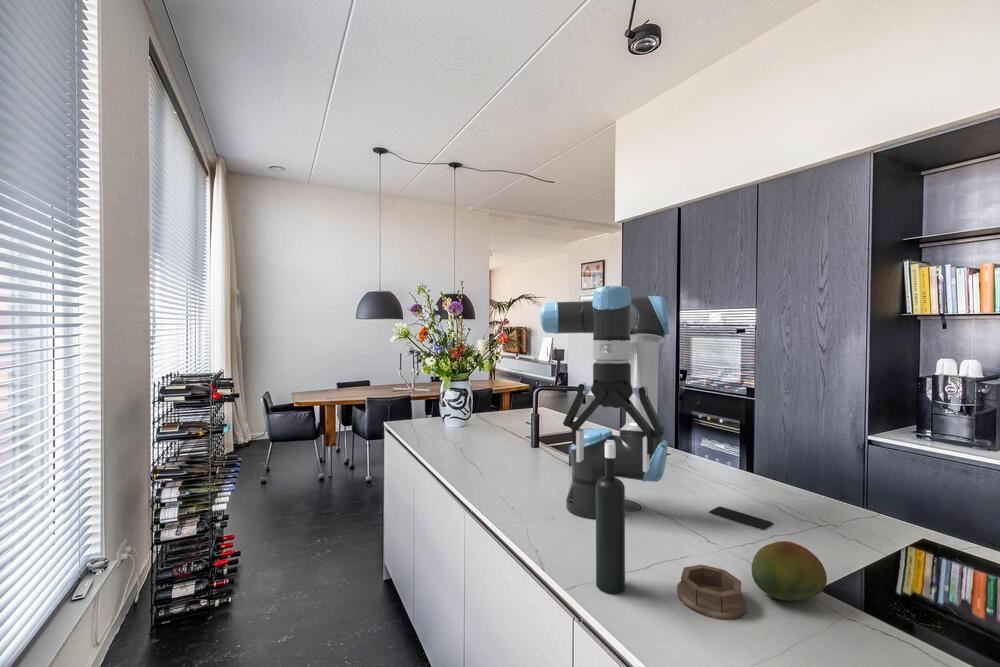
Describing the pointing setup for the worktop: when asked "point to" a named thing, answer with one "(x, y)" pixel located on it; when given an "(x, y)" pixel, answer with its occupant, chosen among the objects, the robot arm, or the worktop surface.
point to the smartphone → (742, 518)
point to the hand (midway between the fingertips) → (611, 465)
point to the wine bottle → (610, 527)
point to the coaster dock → (711, 592)
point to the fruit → (788, 571)
